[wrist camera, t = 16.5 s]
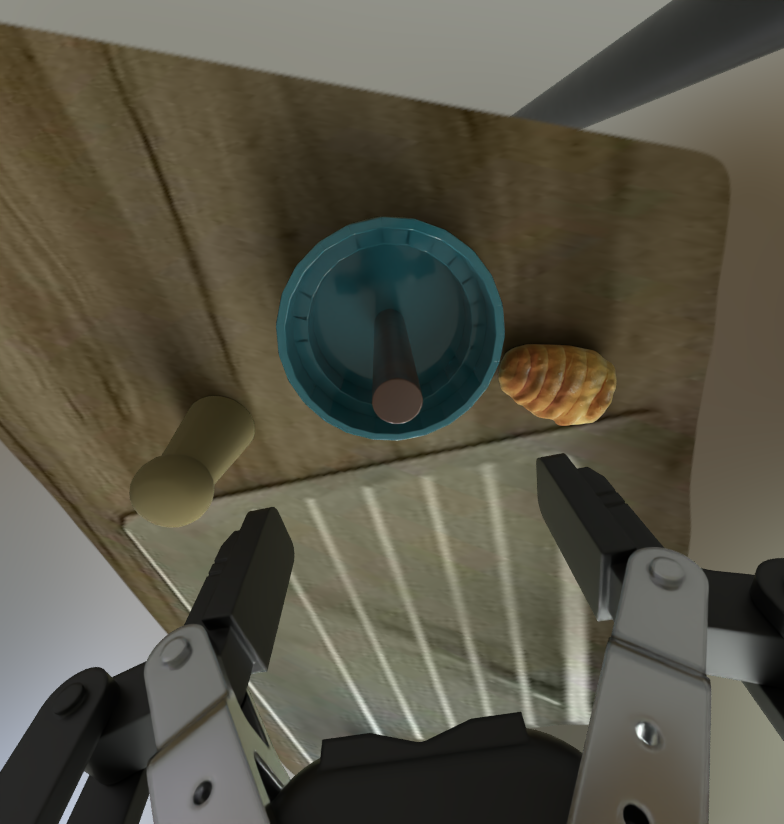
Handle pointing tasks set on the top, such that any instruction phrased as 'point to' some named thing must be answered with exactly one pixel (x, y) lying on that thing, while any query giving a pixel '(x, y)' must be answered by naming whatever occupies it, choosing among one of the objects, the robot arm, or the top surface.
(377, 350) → the stirring stick
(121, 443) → the top surface
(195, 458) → the cork
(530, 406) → the pastry
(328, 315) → the bowl
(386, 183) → the top surface
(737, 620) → the robot arm
